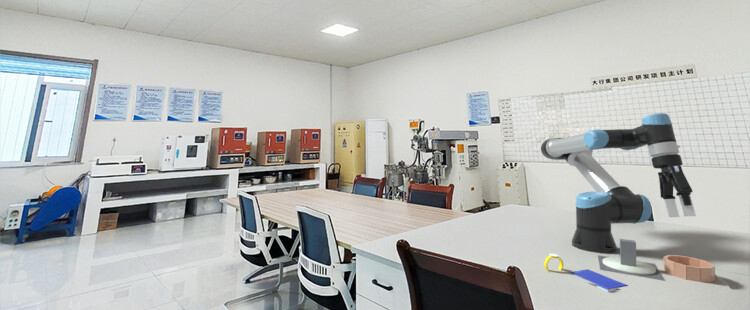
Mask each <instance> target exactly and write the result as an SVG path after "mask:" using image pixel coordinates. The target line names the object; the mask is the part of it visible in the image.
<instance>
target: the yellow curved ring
mask: <svg viewBox="0 0 750 310" xmlns="http://www.w3.org/2000/svg"><path fill="white" fill-rule="evenodd" d="M551 259H558V260H559V266H558V268H557V269H558V270H559V271H562V270H563V269H564V261H563V259H562V258H561V257H559V254H556V253H549V254H548V256H546V257H545V259H544V263H543V265H544V268H545V270H546V271H547V272H548V273H550V272H551V270H550V269H549V267H548V263H549V261H550V260H551Z"/></svg>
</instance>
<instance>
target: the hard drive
mask: <svg viewBox="0 0 750 310" xmlns="http://www.w3.org/2000/svg"><path fill="white" fill-rule="evenodd" d="M569 272H570V271H569ZM570 274H571V275H575V276H577V277H579V278H581V279H584V280H586V281H588V284H589V285H590V286H593V287H596V288H598V289H600V290H602V291H604V292H606V293H610V292H616V291H620V290H621V291H622V289H621V288H623V287H628V286H629V284H626V283H623V282H621V281H619V280H616V279H613V278H610V277H608V276H606V275H603V274H600V273H598V272H596V271H593V270H590V269H589V268H588V269H582V270H574V271H571V272H570Z"/></svg>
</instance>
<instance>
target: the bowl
mask: <svg viewBox="0 0 750 310" xmlns="http://www.w3.org/2000/svg"><path fill="white" fill-rule="evenodd" d="M662 258H663V271H664V272H665V273H666V274H668V275H670V276H673V277H674V278H675V277H676V278H679V279H682V280H683V279H684V280H687V281H692V282H699V283H713V282H714V281H716V266H715V264H713V263H712V262H708V261H707V260H704V259H700V258H695V257H691V256H685V255H677V254H676V255H675V254H667V255H664V256H663V257H662Z"/></svg>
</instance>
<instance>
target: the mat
mask: <svg viewBox="0 0 750 310" xmlns="http://www.w3.org/2000/svg"><path fill="white" fill-rule="evenodd" d="M597 257H598V259H597V260H598V264H599V270H600V271H604V272H605V271H606V272H611V273H618V274H624V275H628V276H629V275H630V276H636V277H641V278H645V279H653V280H658V281H662V282H663V281H666V279H665V278H664V276H663V274H662V272H660V270H659V268H658V266H657V265H656V264H655V263H650V262H646V261H645V262H644V261H643V262H644V263H647V264H649V265H652V266H653V267H655V269H656V273H655V274H653V275H636V274H629V273H624V272H620V271H617V270H614V269H611V268H609V267H607V266H605V265H604V264H603V263H602V260H603V259H604V258H607V257H608V256H605V255H597Z"/></svg>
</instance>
